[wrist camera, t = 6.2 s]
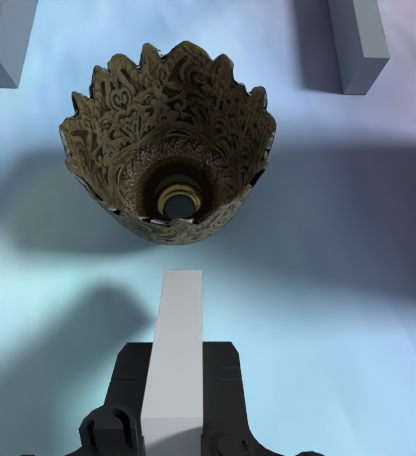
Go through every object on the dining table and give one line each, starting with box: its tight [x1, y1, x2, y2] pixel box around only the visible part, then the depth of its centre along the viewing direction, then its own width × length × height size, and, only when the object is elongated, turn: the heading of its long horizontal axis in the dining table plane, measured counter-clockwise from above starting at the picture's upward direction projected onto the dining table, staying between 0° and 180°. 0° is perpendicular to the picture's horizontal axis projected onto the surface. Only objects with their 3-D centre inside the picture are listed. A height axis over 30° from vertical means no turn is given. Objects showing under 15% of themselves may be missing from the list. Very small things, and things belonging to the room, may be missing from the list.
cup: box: [59, 41, 276, 245], centre depth 16 cm, size 8×7×8 cm
